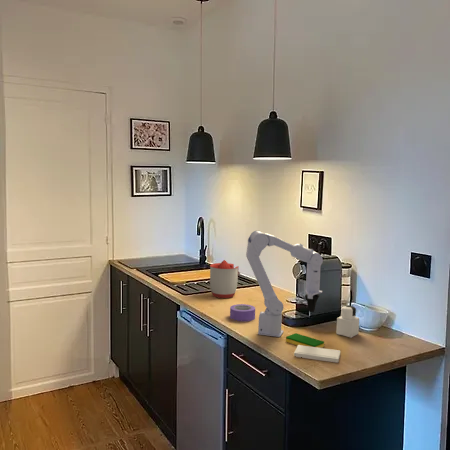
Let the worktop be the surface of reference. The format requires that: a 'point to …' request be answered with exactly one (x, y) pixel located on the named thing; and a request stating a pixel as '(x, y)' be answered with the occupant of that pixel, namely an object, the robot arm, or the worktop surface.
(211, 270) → the citrus juicer
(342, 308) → the medicine bottle
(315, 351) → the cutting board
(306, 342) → the dish sponge
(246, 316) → the tape roll
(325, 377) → the worktop surface
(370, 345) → the worktop surface
